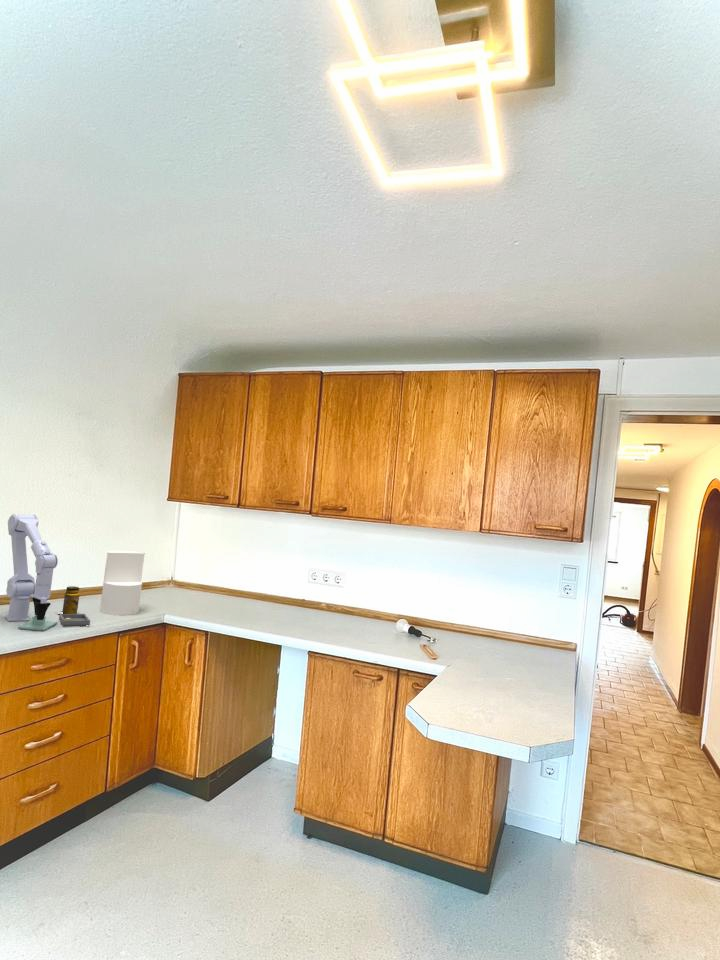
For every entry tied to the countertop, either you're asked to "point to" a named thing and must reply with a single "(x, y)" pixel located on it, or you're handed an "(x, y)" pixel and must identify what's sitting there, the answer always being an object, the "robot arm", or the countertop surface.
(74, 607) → the condiment
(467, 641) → the countertop surface
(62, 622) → the grey tray
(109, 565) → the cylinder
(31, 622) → the lid
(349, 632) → the countertop surface
